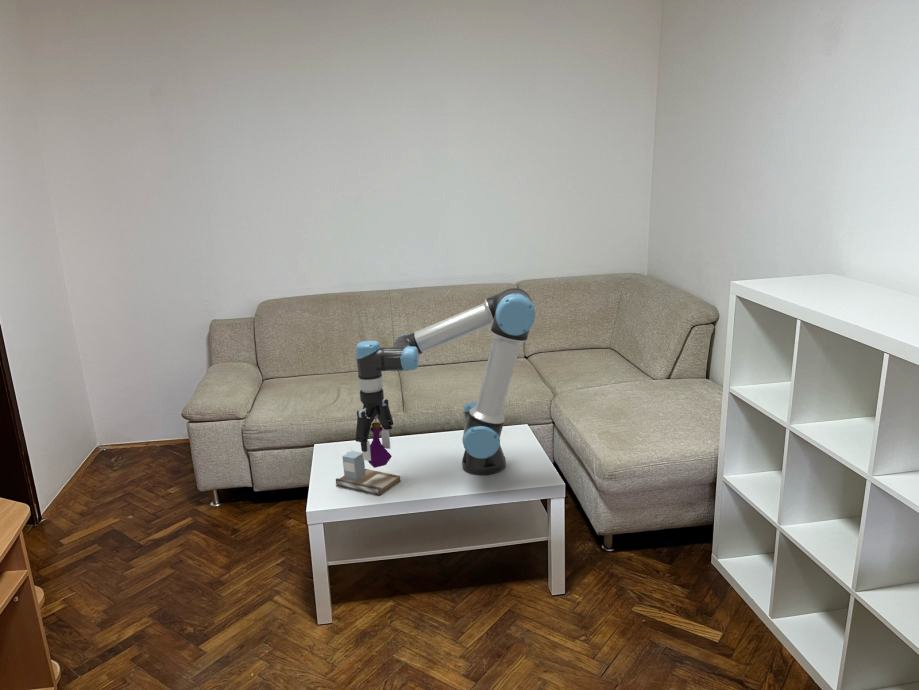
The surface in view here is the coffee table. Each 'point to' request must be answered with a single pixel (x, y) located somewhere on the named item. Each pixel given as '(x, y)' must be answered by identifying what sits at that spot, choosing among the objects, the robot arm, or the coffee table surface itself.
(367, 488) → the display board
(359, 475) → the tea tin
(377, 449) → the perfume bottle
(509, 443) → the coffee table surface
